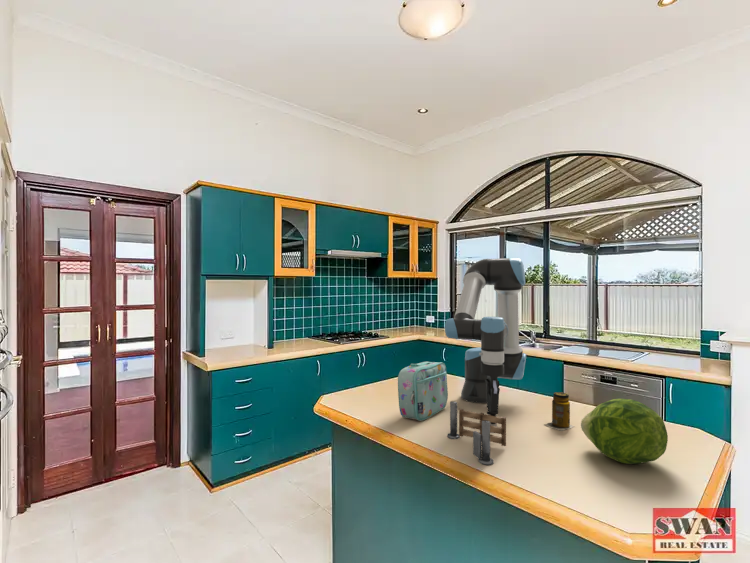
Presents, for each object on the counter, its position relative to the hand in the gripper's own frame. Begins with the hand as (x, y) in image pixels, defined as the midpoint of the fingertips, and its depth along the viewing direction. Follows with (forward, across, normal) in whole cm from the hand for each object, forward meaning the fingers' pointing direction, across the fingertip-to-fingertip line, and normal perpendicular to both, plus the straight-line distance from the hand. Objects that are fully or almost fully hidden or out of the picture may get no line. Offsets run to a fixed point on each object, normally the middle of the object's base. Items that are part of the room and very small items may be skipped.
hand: (492, 432), depth 134 cm
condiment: (+3, -18, +27) cm, 33 cm away
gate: (+2, +2, -4) cm, 5 cm away
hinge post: (+3, -2, -13) cm, 13 cm away
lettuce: (+3, +9, +36) cm, 37 cm away
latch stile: (+3, +16, -4) cm, 17 cm away
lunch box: (+3, -25, -23) cm, 34 cm away
